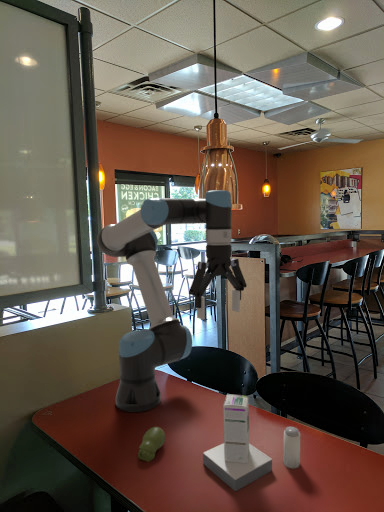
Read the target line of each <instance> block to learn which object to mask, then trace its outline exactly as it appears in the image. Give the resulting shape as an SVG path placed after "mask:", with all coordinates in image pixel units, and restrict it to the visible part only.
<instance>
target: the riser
mask: <svg viewBox="0 0 384 512" xmlns="http://www.w3.org/2000/svg"><path fill="white" fill-rule="evenodd" d="M202 454H203V455H202V456H203V457H202V458H203V459H202V460H203V461H202V464H203V465H204V466H205V467H206V468H208V470H210V472H212V473H213V474H214V475H215V476H217V477H218V478H219V479H220V480H221V481H222V482H224V483H225V484H226V485H227V486H228V487H229V488H230V489H231V490H233V491H234V492H237V491H240V490H241V489H242V488H244V487H246V486H247V485H249V484H251V483H253V482H255V481H256V480H258V479H260V478H261V477H263V476H265V475H267V474H269V473H271V472H272V471H273V458H271V457H270V456H268V455H267V454H265V453H264V452H263V451H261V450H260V449H258V448H256V447H255V446H254V445H253V444H251V443H249V458H248V464H243V463H234V462H227V461H225V457H224V442H223V443H220V444H219V445H217V446H215V447H213V448H210V449H208V450H205V451H204V452H202Z"/></svg>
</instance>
